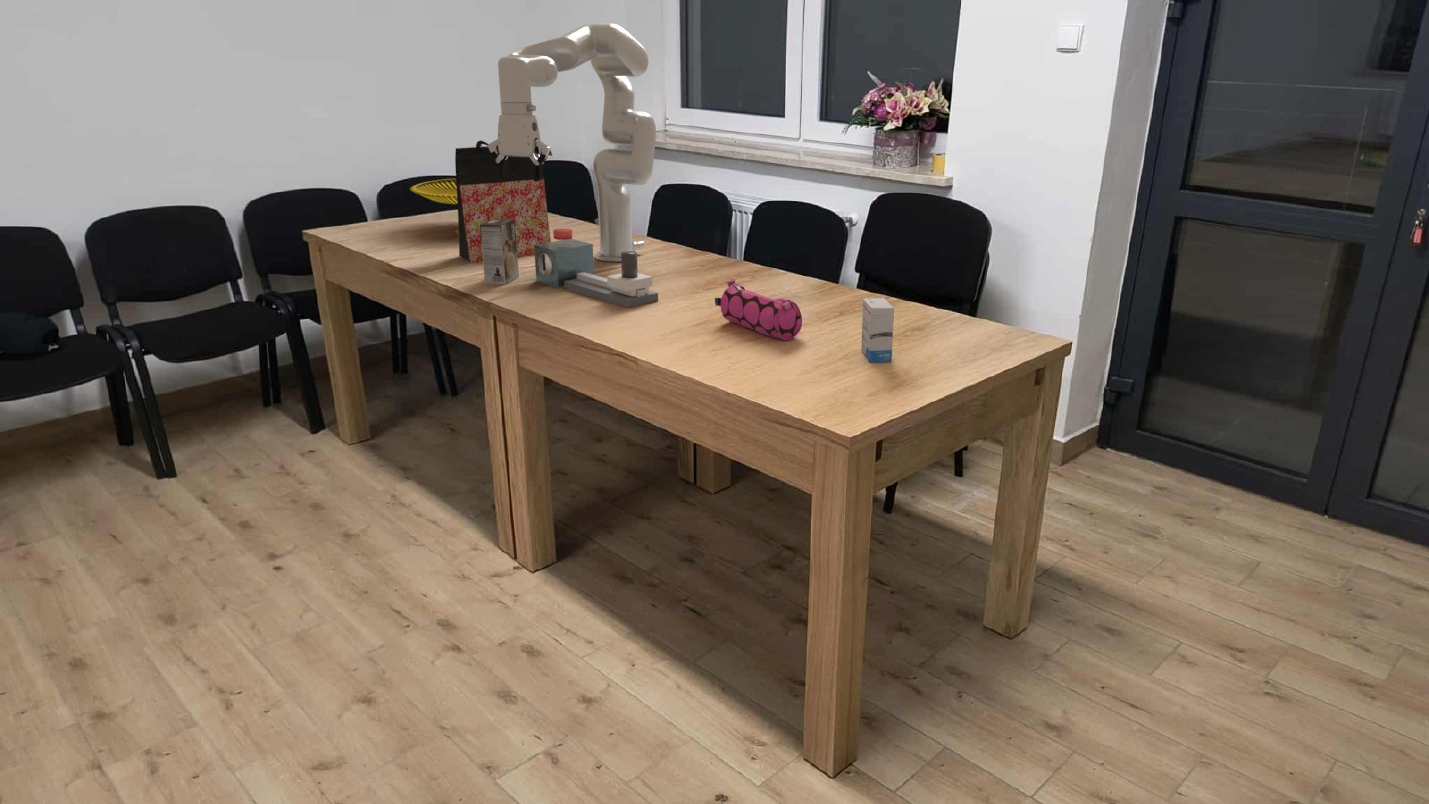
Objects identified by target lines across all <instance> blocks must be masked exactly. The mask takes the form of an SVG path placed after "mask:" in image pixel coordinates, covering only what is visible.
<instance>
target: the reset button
mask: <svg viewBox="0 0 1429 804" xmlns="http://www.w3.org/2000/svg"><path fill="white" fill-rule="evenodd" d="M552 232H553V234H552V235H553V239H554V240H556V241H559V240H567V239H573V230H572V229H571V228H556V229H554V230H553V231H552Z"/></svg>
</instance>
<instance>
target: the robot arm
mask: <svg viewBox="0 0 1429 804" xmlns="http://www.w3.org/2000/svg"><path fill="white" fill-rule="evenodd" d="M589 61H590V64H591V66H592V69H593V70H594V72H595V73H596V74H597V76H598V78H599V79H600V81H601V82H600V83H601V84H602V88H603V91H604V92H603V94H604V97H603V98H604V100H603V111H602V112H603V113H602V123H601V124H602V125H601V134H602V138H603V140H604V141H606V142H607V143H609V144H614V145H621V146H622V145H623V146H631V147H632V150H629V149H619V148H605V149H602V150H600V151H598V152H597V153H596V154H595V156H594V158H593V165H592V167H593V173H594V177H595V178H594V179H595V181H596V187H597V188H596V189H597V199H598V200H597V202H598V225H599V226H598V228H599V251H597V252H595V254H594V257H595V259H596V260H599V261H601V262H602V261H603V262H612V263H613V262H615V263H617V262H620V263H621V252H625V251H634V252H636V250H637V249H640V248H644V247H645V242H644V241H642V240H640V241H635V240H633V238H632V237H633V236H632V235H633V234H632V233H633V231H632V230H633V229H632V199H631V194H630V191H629V190H628V187H627V185H632V186H633V185H634V186H643V185H646V184H647V183H648V182H649V181H650V179H651V178H652V174H653V171H654V170H653V168H654V160H655V158H654V157H655V149H656V140H657V139H656V138H657V137H656V136H657V128H656V122H655V120H654V118H653V117H652V115H651V114H650V113H648V112H645V111H640V110H634V109H635V108H634V106H635V104H634V103H635V91H634V89H633V86H632V84H631V82H630V80H629V79H628V77H630V78H631V77H632V78H635V77H640V76H641V77H642V76H643V74H645V73H646V71H647V70H648V67H649V55H648V53H647V51H646V48H645V47H644V46H643V45H642V43H640V42H639V41H638V40H637V39H636V38H635V37H634V36H632V34H631V33H630V32H628V31H627V30H626V29H625V28H623V27H621V26H620V25H618V24H615V23H585V24H582V25H581V26H579V27H577V28H575V29H573V30H571V31H569V32H567V33H565V34H564V35H561V36H559V37H556V38H552V39H548V40H545V41H542V42H539V43H538V42H537V43H534V44H531V45H528V46H525V47H521V48H519V49H518V50H515V51H514V52H511V53H510V54H508V55H507V56H502V57H500V58H499V59H498V63H497V67H498V68H497V71H498V82H499V83H498V84H499V98H500V100H499V101H500V115H498V117H499V118H498V123H497V139H495V140H494V141H492V142H489V143H488V148H489V150H490V152H491V155H492V156H493V157H494V159H495V160H496V162H497V163H498V168H499V175H500V179H506V178H508V177H509V174H508V163H507V162H506V159H507V158H508V156H513V157H530V159H531V160H532V161H533V163H534V164H535V165H533V181H535V182H537V181H540V180H542V176H543V174H544V173H543V174H542V164H543V165H544V163H545V161H547V159H548V157H549V155H548V154H549V152H550V149H551V147H550V146H549V145H548V144H545V143H544V142H542V141H541V136H540V129H539V128H540V127H539V125H538V121H537V117H536V115H534V114H533V113H534V112H536V110H537V105H534V104H533V102H532V91H531V89H532V87H533V88H546V87H549V86H551V85H553V84H554V83H555V81H556V80H557V78H558V74H559V73H562V72H567V71H572V70H574V69H577V68H579V67H580V66H581V65H583V64H585V63H586V62H589ZM496 146H498V149H499V152H498V151H497V149H496ZM541 149H542V155H541V156H540V155H539V154H541Z"/></svg>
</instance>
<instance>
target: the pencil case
mask: <svg viewBox="0 0 1429 804" xmlns="http://www.w3.org/2000/svg"><path fill="white" fill-rule="evenodd" d="M726 283H727V288H726V289H725V290H724V291H723V294H722V295H721V297H714V304H715V306H717V307H720V312H721V315H722V316H723V318H724V319H725V320H727V321H729V322H730V323H732V324H735V323H737V324H736V325H739V326H740V327H741V326H742V327H744V328H748V329H750V330H753V331H756V332H757V333H760V334H763V335H765V336H768V337H771V338H775V339H779V340H783V341H790V340H792V339H794V338H795V337H796V336H797V335H798V334H799V333H800V332H801V330H802V327H803V316H802V312H801V309H800V308H799V307H800V306H798V304H797V303H796V302H795V301H792V300H790V299H785V298H777V299H774V298H771V297H767V296H764V295H762V294H759V293H757V292H755V291H754V292H753V291H751V290H747V289H745V288H744V286H743V285H741V283H739V282H738V283H737V282H736V280H735V279H731V280H729V281H727V282H726Z"/></svg>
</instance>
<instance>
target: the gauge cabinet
mask: <svg viewBox="0 0 1429 804" xmlns="http://www.w3.org/2000/svg"><path fill="white" fill-rule="evenodd" d="M593 245H594V244H593V243H590V242H585V241H582V240H577V239H573V238H572V239H567V240H553V241H551V242H548V243H542V244H536V245H534V252H535V255H534V265H535V266H534V267H535V280H536V282H537V283H540V284H543V285H547V286H551V287H553V288H557V289H561V288H565V285H564V281H567V280H572V279H577V273H582V272H586V273H589V274H593V275H595V269H594V266H595V265H594V246H593Z"/></svg>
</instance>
